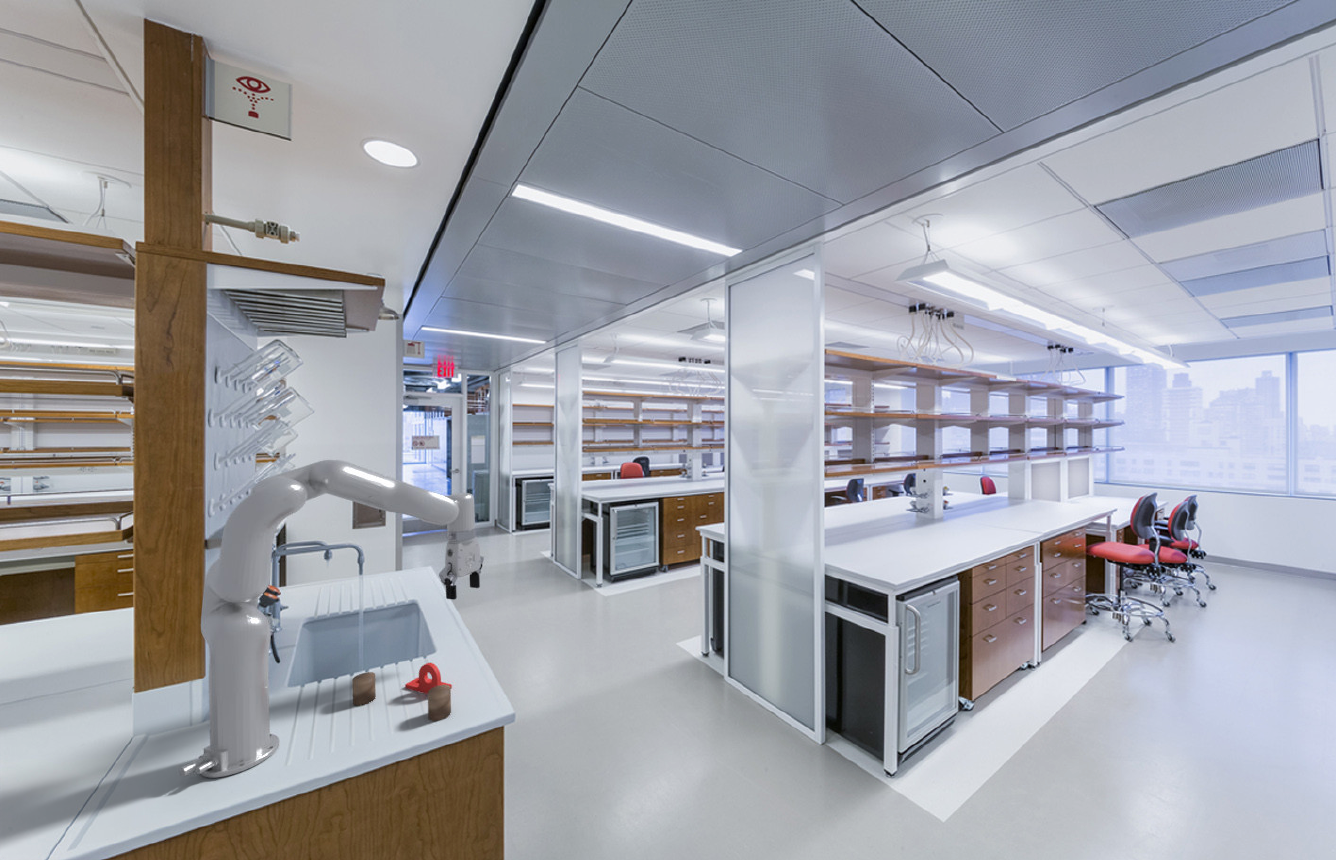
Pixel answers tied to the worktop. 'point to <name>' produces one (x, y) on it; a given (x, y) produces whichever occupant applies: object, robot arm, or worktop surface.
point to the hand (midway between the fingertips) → (463, 593)
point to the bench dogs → (436, 696)
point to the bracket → (426, 679)
